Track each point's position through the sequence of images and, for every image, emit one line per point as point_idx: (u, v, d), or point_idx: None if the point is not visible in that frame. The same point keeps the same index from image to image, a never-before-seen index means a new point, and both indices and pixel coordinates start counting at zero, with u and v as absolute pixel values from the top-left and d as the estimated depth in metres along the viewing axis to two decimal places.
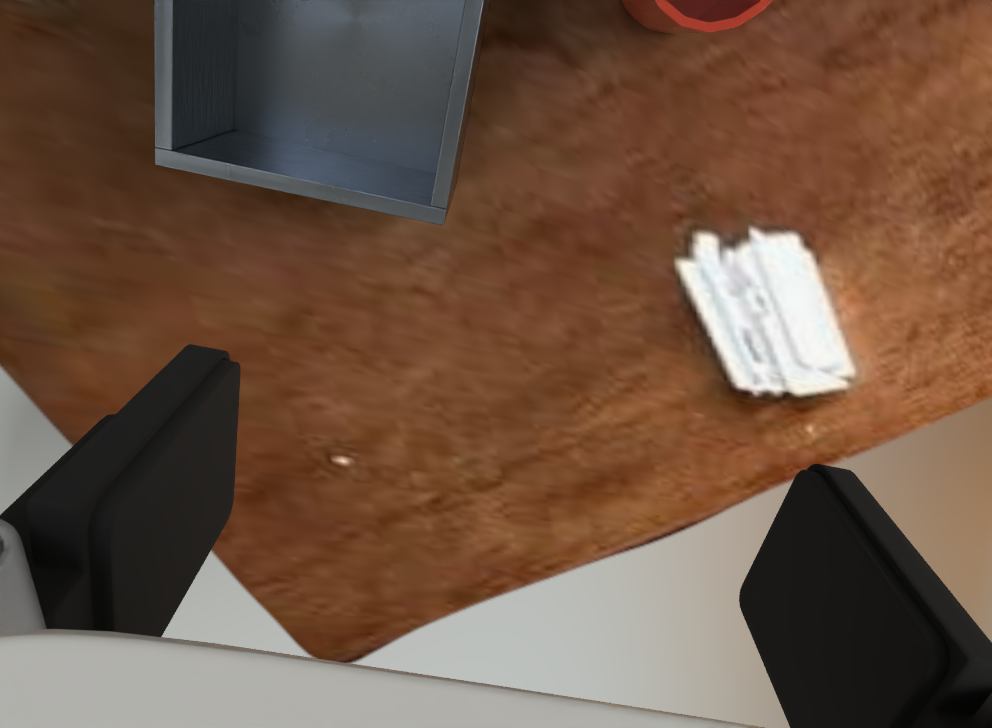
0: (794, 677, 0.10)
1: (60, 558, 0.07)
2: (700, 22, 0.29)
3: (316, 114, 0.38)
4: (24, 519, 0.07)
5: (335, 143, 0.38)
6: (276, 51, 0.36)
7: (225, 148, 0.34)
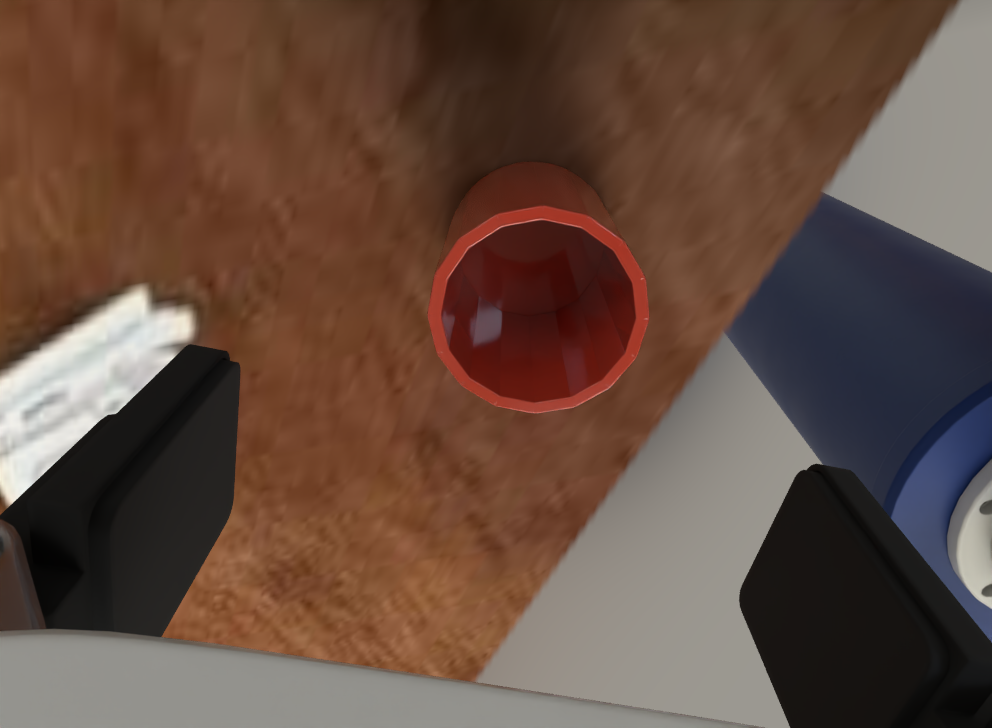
0: (794, 677, 0.10)
1: (60, 558, 0.07)
2: (440, 302, 0.20)
3: None
4: (24, 519, 0.07)
5: None
6: None
7: None
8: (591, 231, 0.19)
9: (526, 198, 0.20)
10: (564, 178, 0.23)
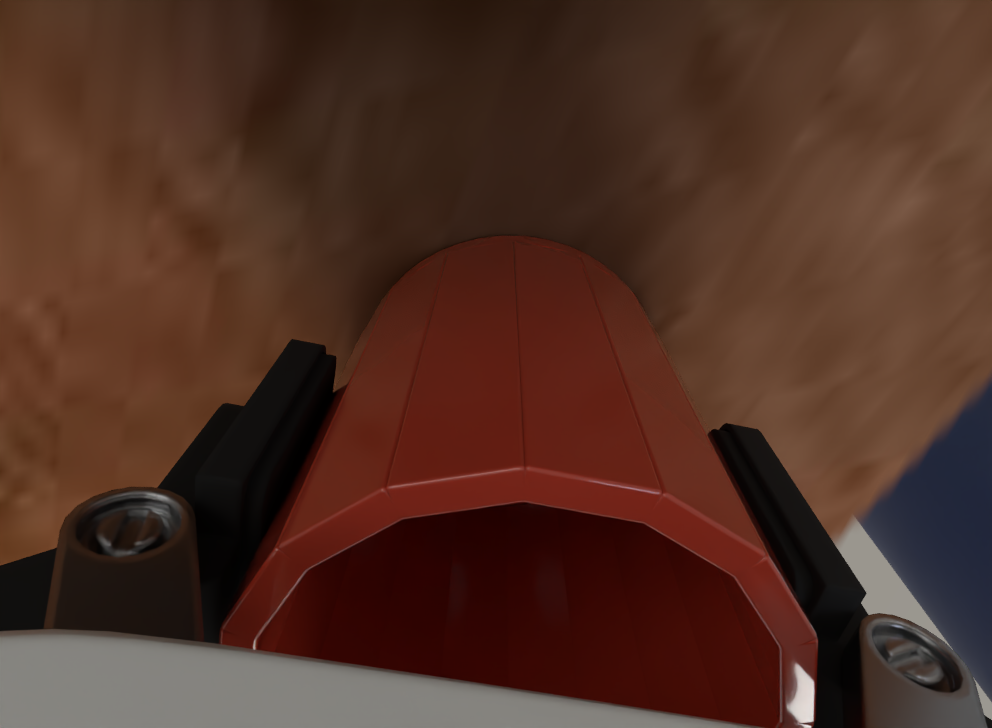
0: None
1: (219, 527, 0.08)
2: None
3: None
4: None
5: None
6: None
7: None
8: (672, 533, 0.06)
9: (481, 403, 0.07)
10: (577, 289, 0.11)
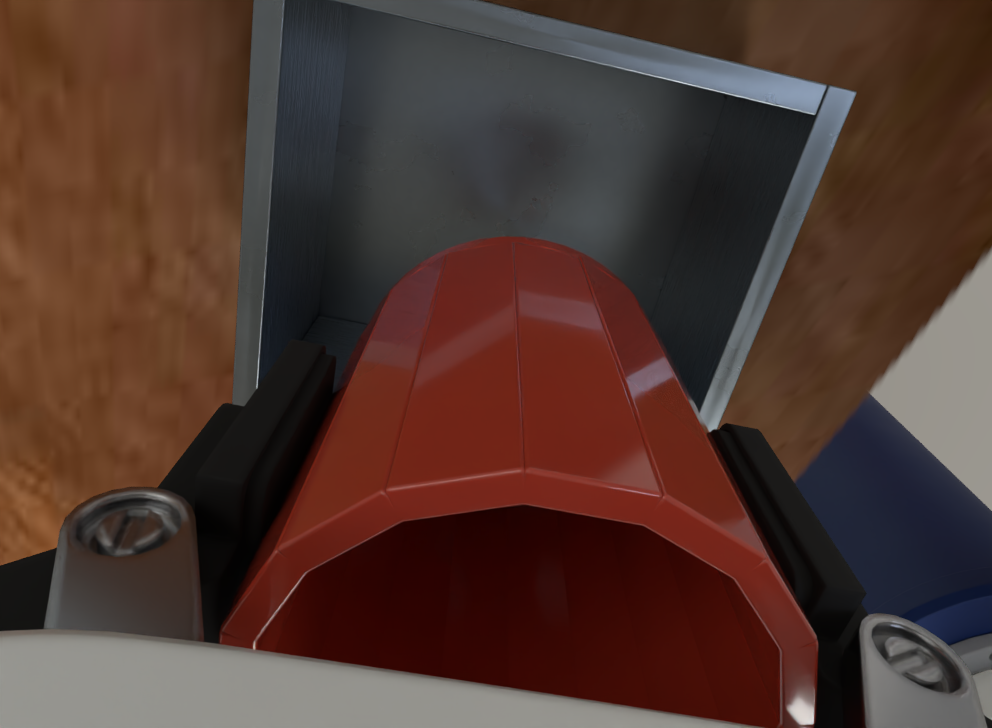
0: None
1: (219, 527, 0.08)
2: None
3: (385, 145, 0.26)
4: None
5: (347, 169, 0.26)
6: (466, 95, 0.25)
7: (310, 49, 0.20)
8: (671, 535, 0.06)
9: (481, 405, 0.07)
10: (577, 291, 0.11)
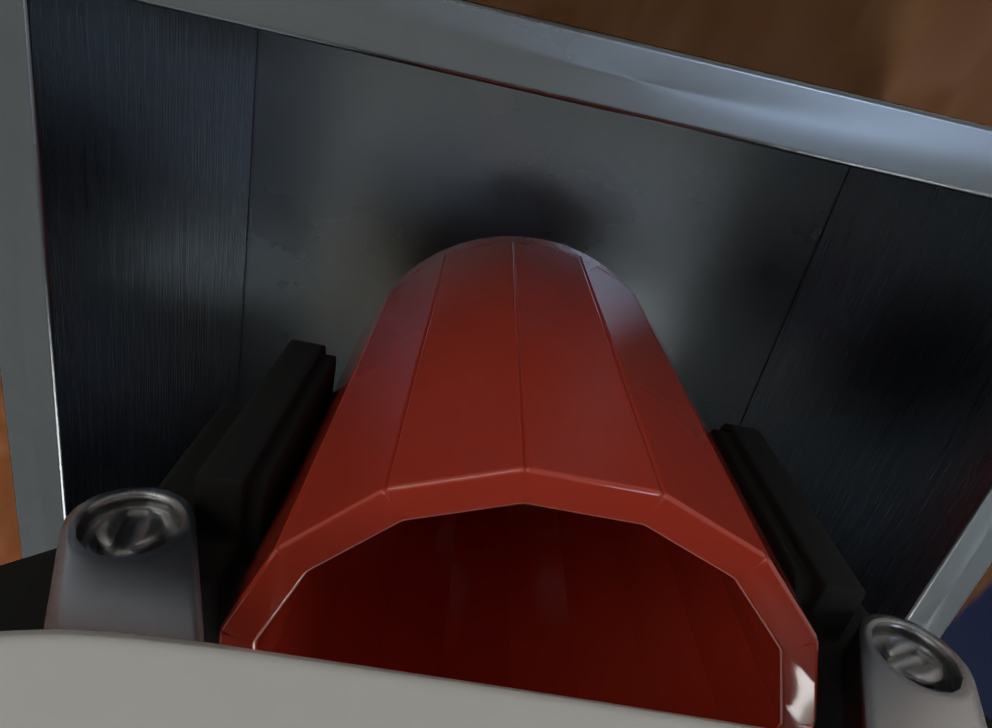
0: None
1: (219, 527, 0.08)
2: None
3: (322, 223, 0.17)
4: None
5: (265, 259, 0.17)
6: (447, 149, 0.16)
7: (147, 90, 0.11)
8: (672, 534, 0.06)
9: (481, 404, 0.07)
10: (577, 290, 0.11)
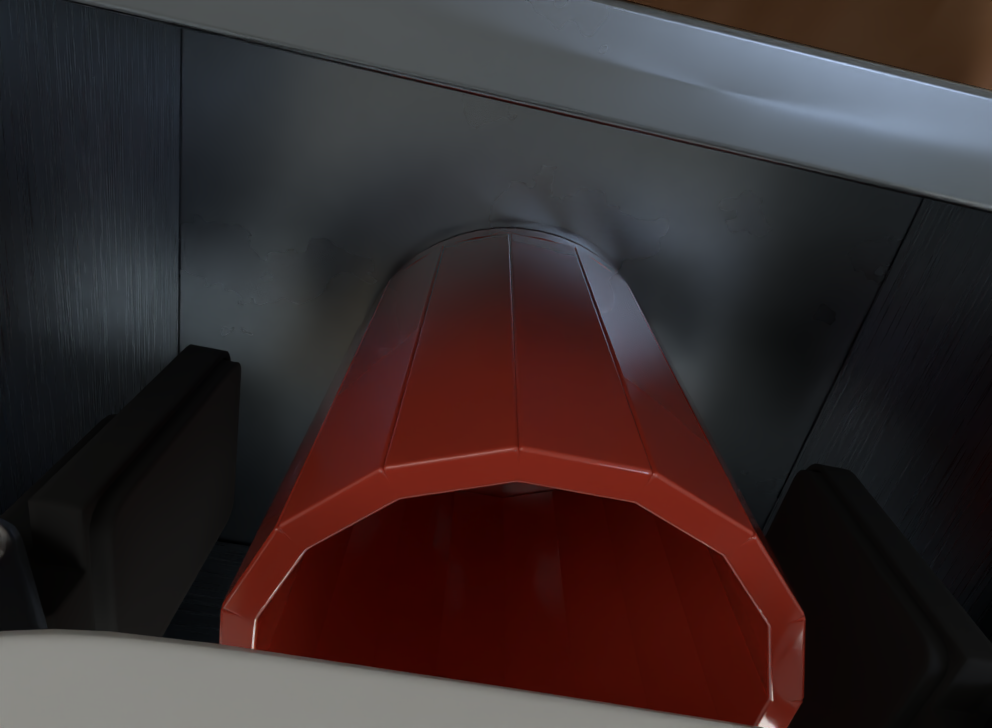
0: None
1: (61, 558, 0.07)
2: None
3: (272, 258, 0.14)
4: (25, 519, 0.07)
5: (203, 301, 0.14)
6: (426, 167, 0.13)
7: None
8: (662, 512, 0.06)
9: (476, 388, 0.07)
10: (572, 280, 0.11)
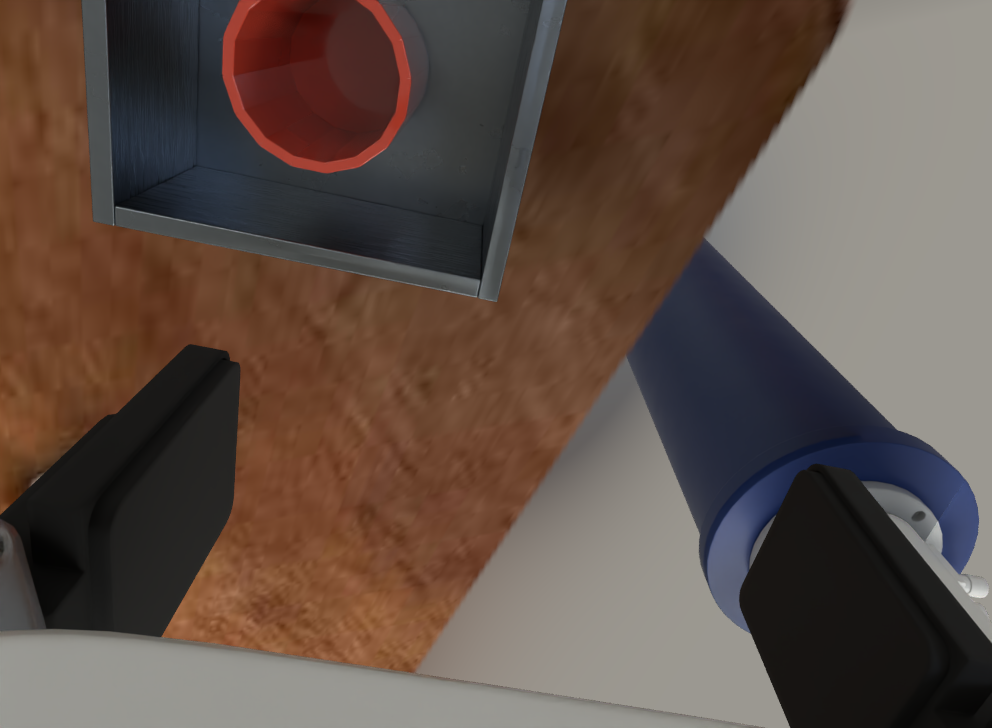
0: (794, 677, 0.10)
1: (60, 558, 0.07)
2: (231, 62, 0.23)
3: None
4: (24, 519, 0.07)
5: (210, 23, 0.30)
6: None
7: None
8: None
9: None
10: None
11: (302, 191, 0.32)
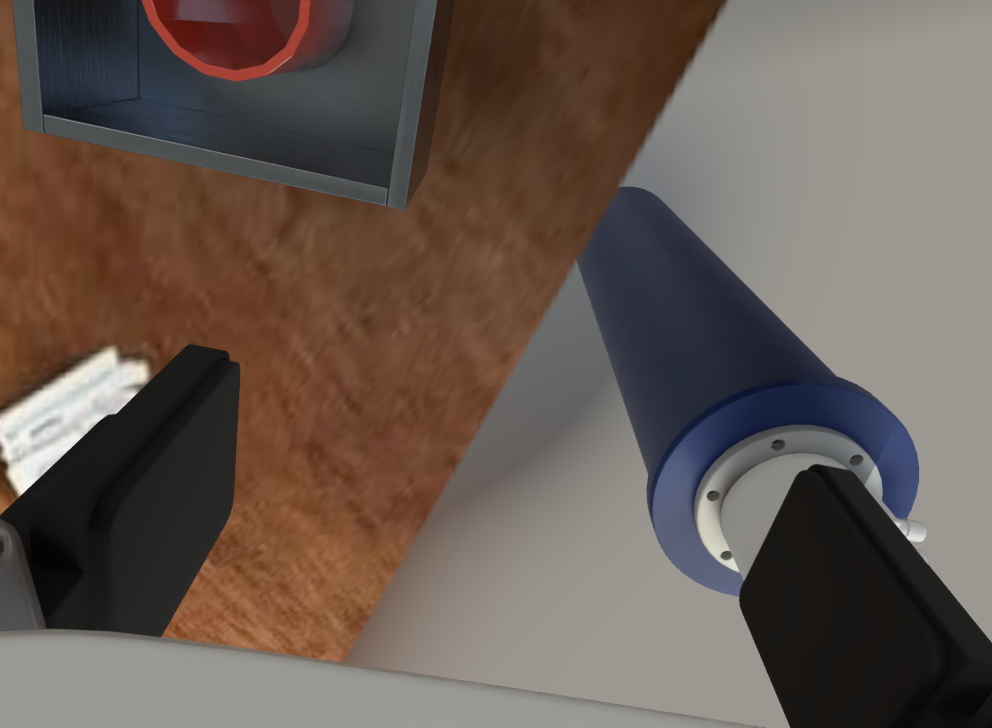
0: (794, 677, 0.10)
1: (60, 558, 0.07)
2: None
3: None
4: (24, 519, 0.07)
5: None
6: None
7: None
8: None
9: None
10: None
11: (237, 122, 0.34)
